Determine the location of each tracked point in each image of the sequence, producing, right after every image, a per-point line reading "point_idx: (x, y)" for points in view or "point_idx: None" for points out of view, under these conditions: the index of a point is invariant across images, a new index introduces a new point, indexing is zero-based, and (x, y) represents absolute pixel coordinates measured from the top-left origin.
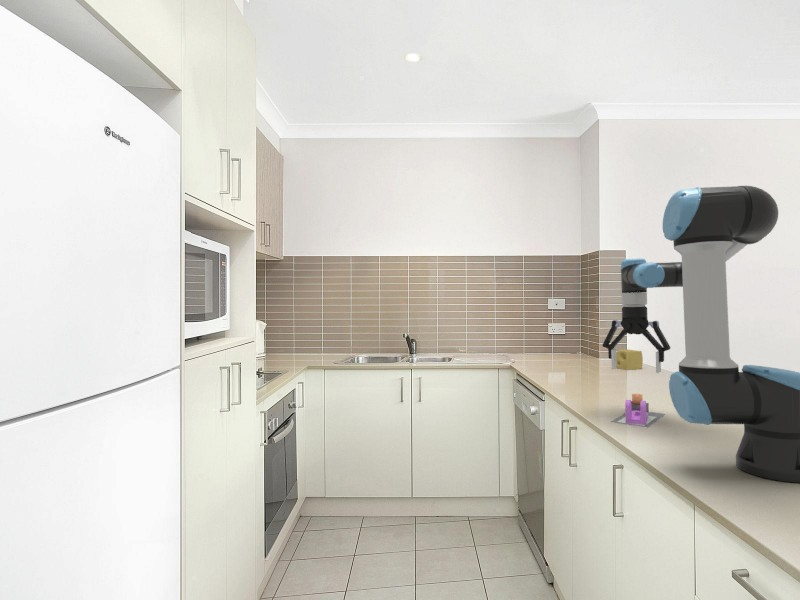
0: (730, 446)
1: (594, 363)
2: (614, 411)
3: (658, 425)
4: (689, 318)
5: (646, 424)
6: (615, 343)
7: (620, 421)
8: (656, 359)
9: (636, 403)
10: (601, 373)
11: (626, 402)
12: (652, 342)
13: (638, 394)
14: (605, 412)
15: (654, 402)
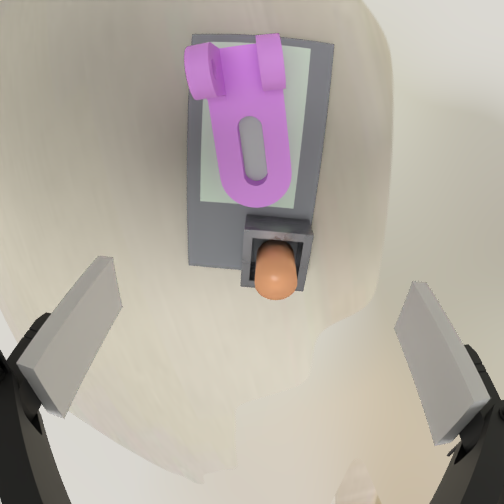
0: (6, 21)
1: None
2: (352, 237)
3: (173, 101)
4: None
5: None
6: (478, 467)
7: (300, 59)
8: (62, 320)
9: (275, 246)
10: (373, 492)
11: (275, 38)
12: (15, 466)
13: (271, 288)
14: (379, 207)
15: (257, 385)
